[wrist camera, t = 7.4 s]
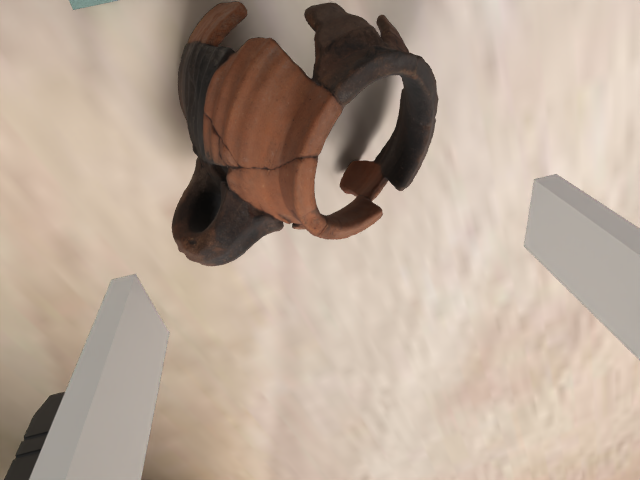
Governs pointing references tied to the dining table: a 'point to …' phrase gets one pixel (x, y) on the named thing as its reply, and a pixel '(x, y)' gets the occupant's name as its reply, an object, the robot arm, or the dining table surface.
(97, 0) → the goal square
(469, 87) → the dining table surface
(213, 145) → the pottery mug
